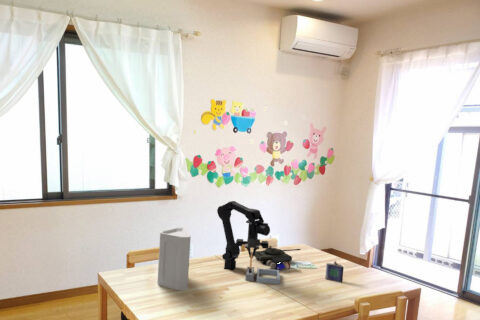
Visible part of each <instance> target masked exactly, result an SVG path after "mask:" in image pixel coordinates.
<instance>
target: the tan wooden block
mask: <svg viewBox="0 0 480 320" xmlns="http://www.w3.org/2000/svg"><path fill="white" fill-rule="evenodd" d="M252 254H253V250H251V257H249V267H250V268H252V267H253V266H252V265H253V258H252Z"/></svg>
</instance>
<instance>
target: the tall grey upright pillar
mask: <svg viewBox="0 0 480 320" xmlns="http://www.w3.org/2000/svg"><path fill="white" fill-rule="evenodd" d="M159 232H160V233H159V245H158V246H159V249H158V267H157V282H156V283H157V285H158V286H160V287H164V288H168V289H173V290H176V291H187V290H189V289H188V287H189V286H188V285H189V267H190V253H191V252H190V251H191V250H190V249H191V235H190V232H189V231H188V229H187V227H182V226H181V227H180V226H179V227H174V228H170V229H165V230H161V231H159Z"/></svg>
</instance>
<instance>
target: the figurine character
mask: <svg viewBox="0 0 480 320" xmlns="http://www.w3.org/2000/svg"><path fill="white" fill-rule="evenodd" d="M289 261H290V262H289ZM292 261H293V258H292V259H291V258H290V257H288V256H284V257H276V258H272V261H271V260H269V261H267V265H266V266H268V267H270V268H271V270H282V269H285V270H289V269H290V268H291V265H292V264H291V262H292ZM277 262H283V263H280V264H277Z"/></svg>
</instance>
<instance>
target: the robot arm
mask: <svg viewBox="0 0 480 320" xmlns="http://www.w3.org/2000/svg"><path fill="white" fill-rule="evenodd" d="M233 211H236V212H238V213H241V214H242V215H243V216H244V217H245V218H246V219H247V220H246V221H245V223H246V224H248V230H247V240H246V241H245V240H244V239H243V238H237V239H236V241H235V237H234V236H235V235H234V233H233V228H232V227H233V226H232V222H231V217H232V212H233ZM216 213H217V216H218V217H219V218H220V220H221V221H222V227H223V232H224V236H225V242H226V246H225V252H224V253H223V254H222V255H221V257H222V260H224V267H223V270H227V271H229V270H230V271H235V270H236V268H237V259H238V258H239V256H240V254H241V249H240V248H241V247H243V245H244V248H245V249H246V250H247V252H248V255H249V257H248V258H250V257H251V251H253V253H252V259H254V254H255V252H256V251H258V250H259V249H260V246H261V248H262V249H268V248H269V246H270V245H269V241H268V240H261V239H260V238H259V239H258V235H262V236H269V235H270V233H271V228H270V226H269V223H267V222H265V220H264V219H263V217H262V214H261V210H259V209H255V208H250V207H247V206H244V205H243V204H241V203H239V202H237V201H235V200H232V201H231V200H230V201H228V202H227V203H225V204H222V205H219V206H218V207H217V209H216ZM252 249H253V250H252Z"/></svg>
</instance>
